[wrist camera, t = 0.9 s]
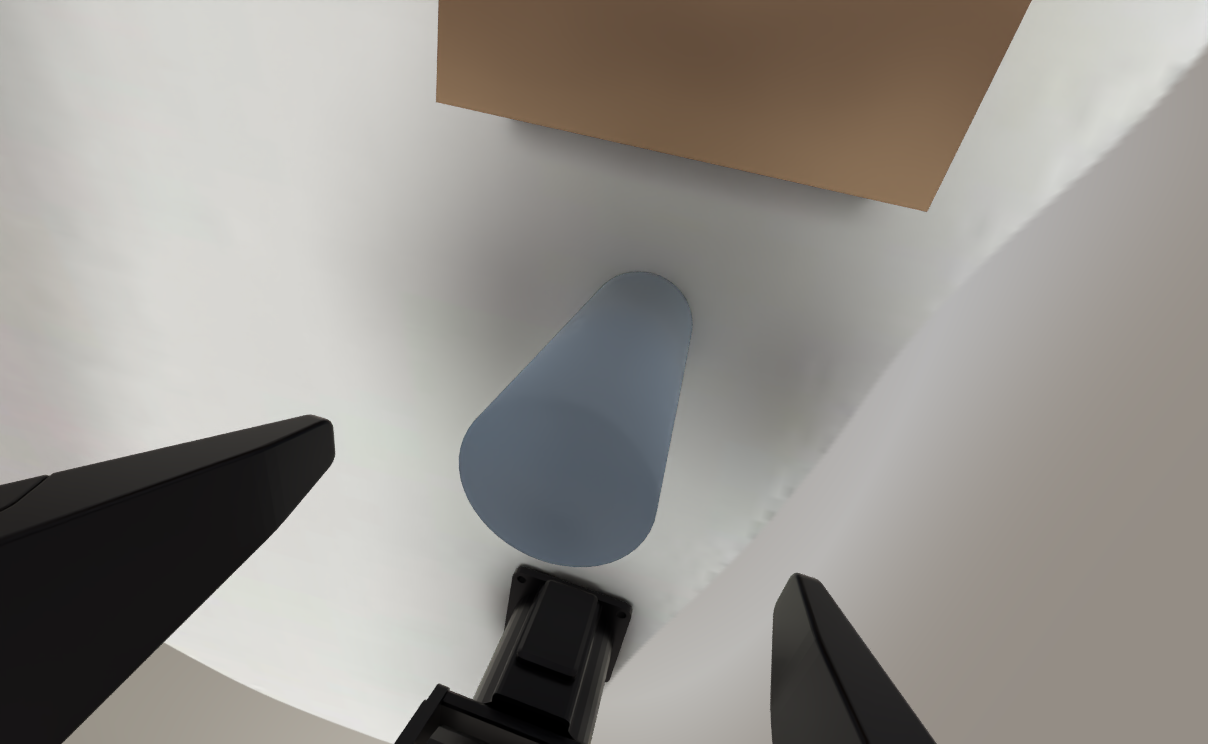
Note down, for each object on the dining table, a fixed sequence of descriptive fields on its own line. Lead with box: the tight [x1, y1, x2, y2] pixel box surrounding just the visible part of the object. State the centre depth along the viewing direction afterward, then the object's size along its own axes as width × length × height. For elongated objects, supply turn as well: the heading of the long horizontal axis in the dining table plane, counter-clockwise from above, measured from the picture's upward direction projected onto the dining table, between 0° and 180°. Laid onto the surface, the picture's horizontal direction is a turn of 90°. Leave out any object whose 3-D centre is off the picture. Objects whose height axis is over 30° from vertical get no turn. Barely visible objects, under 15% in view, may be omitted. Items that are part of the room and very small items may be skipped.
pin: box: [459, 272, 692, 567], centre depth 13 cm, size 4×4×10 cm
